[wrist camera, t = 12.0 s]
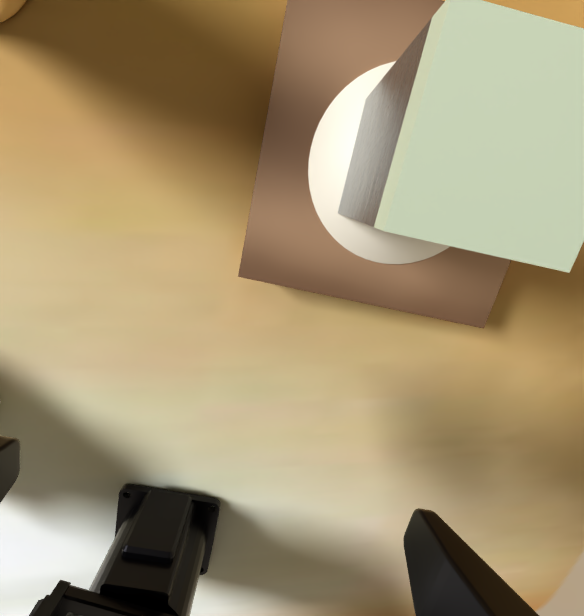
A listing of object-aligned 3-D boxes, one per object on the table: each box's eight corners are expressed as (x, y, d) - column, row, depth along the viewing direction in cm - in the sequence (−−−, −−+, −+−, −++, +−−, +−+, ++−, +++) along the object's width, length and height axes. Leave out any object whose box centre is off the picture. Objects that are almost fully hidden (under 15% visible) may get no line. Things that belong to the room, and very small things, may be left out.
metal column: (436, 235, 16) (569, 272, 8) (337, 213, 16) (383, 231, 8) (472, 125, 15) (669, 52, 7) (365, 98, 14) (452, -9, 7)
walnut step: (459, 310, 20) (488, 329, 17) (245, 264, 20) (237, 276, 17) (549, 70, 17) (605, 44, 14) (293, 1, 16) (295, -43, 13)
